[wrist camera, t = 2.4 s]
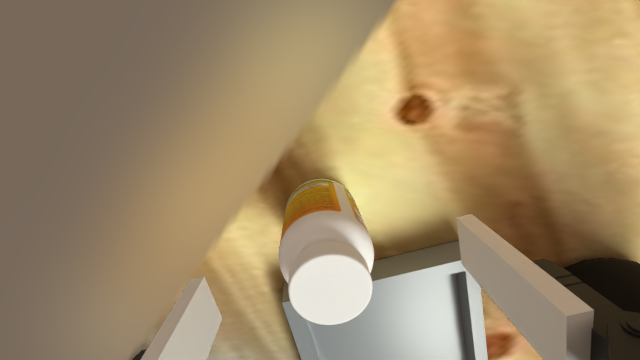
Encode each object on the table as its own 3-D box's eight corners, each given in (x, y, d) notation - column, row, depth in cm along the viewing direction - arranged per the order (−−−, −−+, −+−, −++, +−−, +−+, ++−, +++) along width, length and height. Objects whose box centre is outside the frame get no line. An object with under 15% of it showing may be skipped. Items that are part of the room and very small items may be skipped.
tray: (325, 407, 29) (327, 436, 27) (284, 282, 25) (281, 302, 22) (476, 373, 29) (491, 399, 26) (460, 239, 24) (477, 256, 22)
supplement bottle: (273, 223, 23) (252, 313, 14) (306, 164, 22) (306, 220, 13) (333, 251, 24) (350, 353, 15) (368, 196, 23) (410, 270, 14)
